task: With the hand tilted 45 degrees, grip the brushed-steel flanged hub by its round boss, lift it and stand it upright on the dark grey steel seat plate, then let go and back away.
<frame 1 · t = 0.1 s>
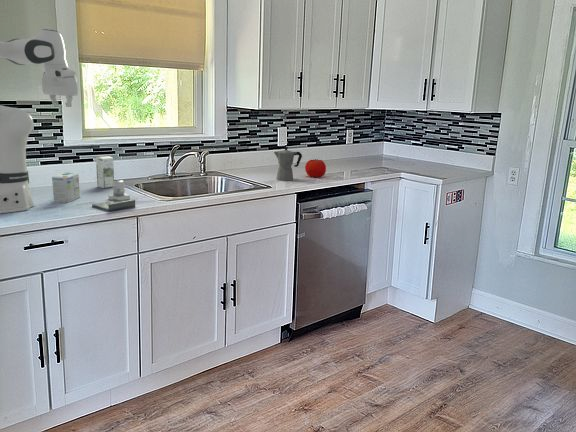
hand: (62, 106, 220), 39 cm above the worktop, tool pointing down, fingers open, 8 cm apart
hub: (119, 199, 232), on the worktop
coffeepot: (286, 179, 292), on the worktop
tomato: (315, 177, 304), on the worktop
light bulb box: (67, 200, 227), on the worktop
seat plate: (113, 206, 218), on the worktop
syrup box: (105, 187, 254), on the worktop
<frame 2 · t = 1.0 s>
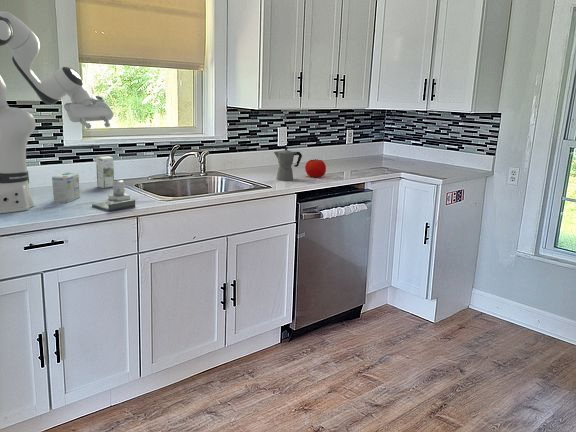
hand: (98, 127, 231), 30 cm above the worktop, tool tilted 45°, fingers open, 8 cm apart
nothing on the worktop moved.
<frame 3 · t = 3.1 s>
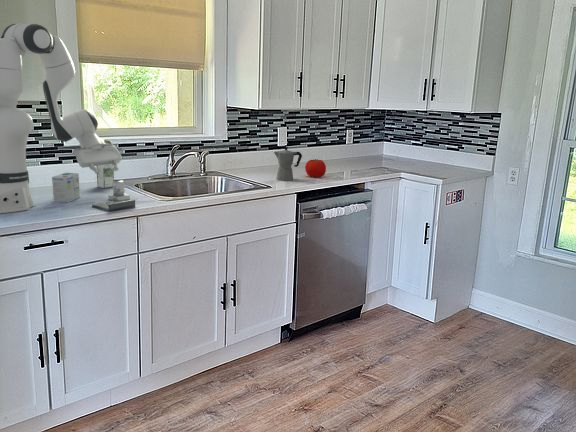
hand: (107, 171, 233), 11 cm above the worktop, tool tilted 45°, fingers open, 8 cm apart
nothing on the worktop moved.
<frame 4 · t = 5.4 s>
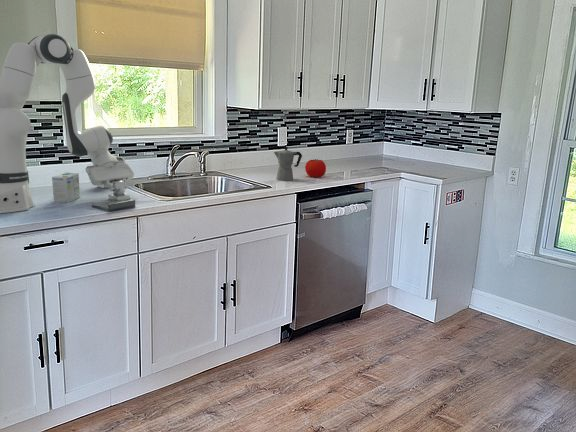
hand: (119, 189, 230), 4 cm above the worktop, tool tilted 45°, fingers closed on hub, 5 cm apart
hub: (119, 199, 232), on the worktop, touching gripper
everything else where it was.
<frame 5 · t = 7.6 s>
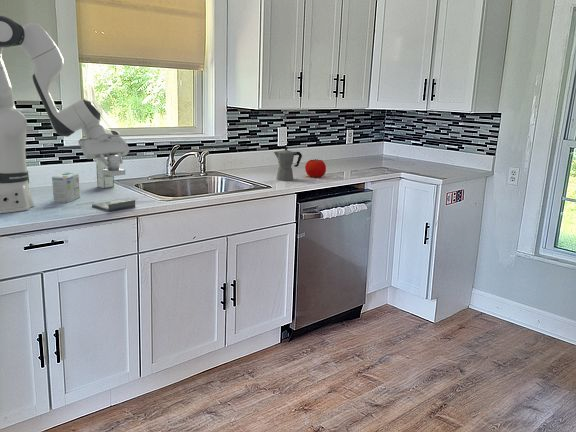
hand: (114, 164, 218), 17 cm above the worktop, tool tilted 45°, fingers closed on hub, 5 cm apart
hub: (114, 174, 220), point 13 cm above the worktop, touching gripper
everything else where it was.
when the fingers open (7 cm above the worktop, at t = 10.4 s): hub drops 1 cm, resting on seat plate.
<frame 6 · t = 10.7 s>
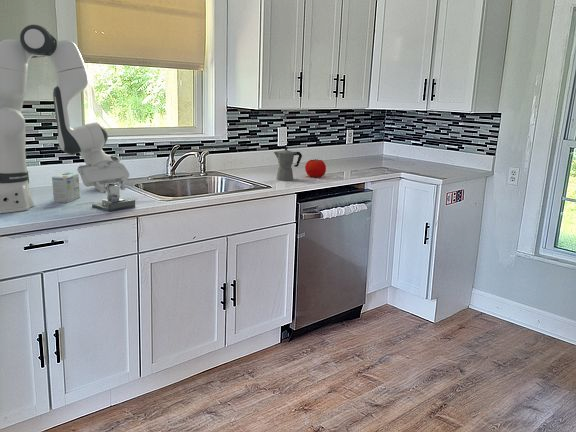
hand: (114, 190, 216), 7 cm above the worktop, tool tilted 45°, fingers open, 8 cm apart
hub: (113, 204, 218), point 1 cm above the worktop, touching seat plate
everything else where it was.
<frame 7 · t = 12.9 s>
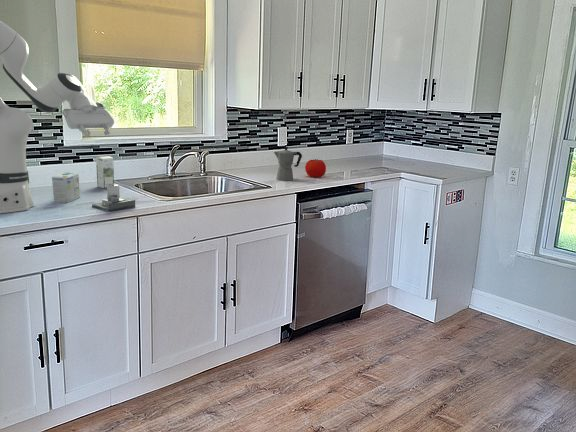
hand: (98, 134, 220), 28 cm above the worktop, tool tilted 45°, fingers open, 8 cm apart
nothing on the worktop moved.
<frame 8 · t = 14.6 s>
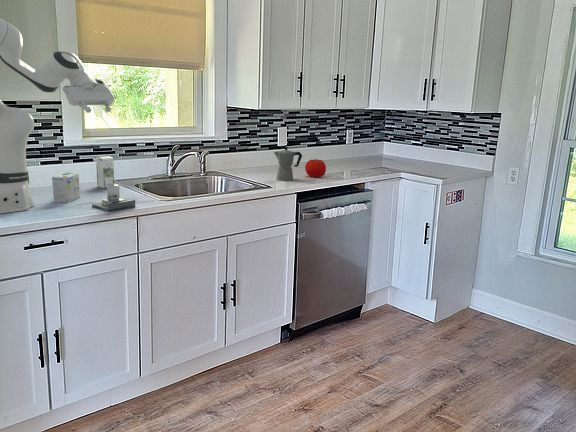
hand: (99, 111, 221), 37 cm above the worktop, tool tilted 45°, fingers open, 8 cm apart
nothing on the worktop moved.
at the end: hub inside the target area on the seat plate (0.2 cm from its centre), point 1.0 cm above the seat plate's base; hub tilted 0°; the gripper is holding nothing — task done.
